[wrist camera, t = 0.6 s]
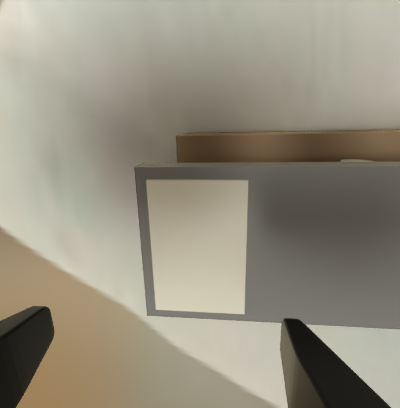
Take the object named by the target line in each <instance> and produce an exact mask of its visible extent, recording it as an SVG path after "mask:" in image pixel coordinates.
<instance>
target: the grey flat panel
mask: <svg viewBox="0 0 400 408" xmlns="http://www.w3.org/2000/svg"><path fill="white" fill-rule="evenodd" d="M134 169H135V180H136V192H137V203H138V215H139V226H140V238H141V250H142V261H143V273H144V284H145V296H146V307H147V316H164V317H182V318H201V319H219V320H238V321H256V322H275V323H282V320H283V319H284V318H296V319H299V320H301V321H302V322H303V323H304V324H311V325H330V326H348V327H367V328H385V329H400V162H373V161H370V160H361V159H344V160H341V161H340V162H219V163H142V164H140V165H138V166H136V167H134Z"/></svg>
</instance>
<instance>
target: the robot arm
mask: <svg viewBox="0 0 400 408" xmlns="http://www.w3.org/2000/svg"><path fill="white" fill-rule="evenodd" d="M53 337H54V326H53V321H52V317H51V312H50V309H49V308H48V307H46V306H32V307H30V308H27V309H25V310H23V311H21V312H19V313H17V314H15V315H12V316H10V317H8V318H6V319H4V320H1V321H0V408H16V406H17V405H18V403H19V401H20V400H21V398H22V396H23V395H24V393H25V391H26V389H27V387H28V386H29V384H30V382H31V380H32V378H33V376H34V374H35V372H36V370H37V368H38V367H39V365H40V363H41V361H42V359H43V357H44V355H45V353H46V351H47V349H48V348H49V346H50V344H51V342H52V340H53ZM280 351H281V359H282V366H283V374H284V381H285V389H286V396H287V403H288V408H391V407H390V406H389V405H388V404H387V403H386V402H385V401H384V400H383V399H382V398H381V397H380V396H379V395H377V394H376V393H375V392H374V391H373V390H372V389H371V388H370V387H369V386H368V385H367V384H366V383H365V382H364V381H363V380H362V379H361V378H360V377H359V376H358V375H357V374H356V373H355V372H354V371H353V370H352V369H351V368H350V367H348V366H347V365H346V364H345V363H344V362H343V361H342V360H341V359H340V358H339V357H338V356H337V355H336V354H335V353H334V352H333V351H332V350H331V349H330V348H329V347H328V346H327V345H326V344H325V343H324V342H323V341H322V340H321V339H319V338H318V337H317V336H316V335H315V334H314V333H313V332H312V331H311V330H310V329H309V328H308V327H307V326H306V325H305V324H304V323H303V322H302V321H301V320H299V319H296V318H284V319H283V320H282V326H281V342H280Z"/></svg>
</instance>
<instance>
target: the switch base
mask: <svg viewBox="0 0 400 408" xmlns="http://www.w3.org/2000/svg"><path fill="white" fill-rule="evenodd" d="M176 145H177V163H219V162H340V161H341V160H344V159H361V160H370V161H373V162H400V129H396V130H336V131H277V132H218V133H186V134H182V135H178V136H176Z"/></svg>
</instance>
